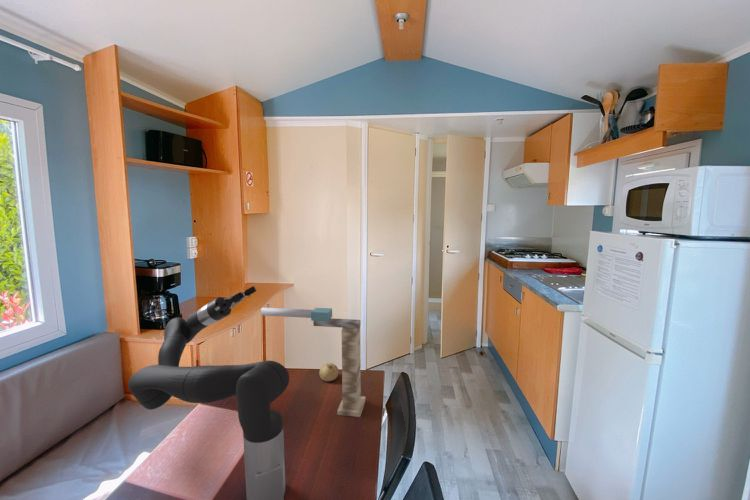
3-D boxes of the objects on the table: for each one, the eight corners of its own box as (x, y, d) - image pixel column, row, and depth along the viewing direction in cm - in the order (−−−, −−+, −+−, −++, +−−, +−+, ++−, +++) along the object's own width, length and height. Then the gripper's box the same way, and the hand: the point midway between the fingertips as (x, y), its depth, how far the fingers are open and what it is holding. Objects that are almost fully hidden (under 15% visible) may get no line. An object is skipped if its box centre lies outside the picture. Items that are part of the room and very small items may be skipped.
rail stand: (365, 400, 124) (365, 316, 120) (360, 417, 114) (359, 326, 110) (321, 396, 126) (319, 314, 122) (312, 412, 116) (309, 323, 112)
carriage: (332, 316, 119) (332, 308, 118) (328, 321, 114) (328, 312, 114) (266, 313, 123) (265, 305, 122) (259, 317, 118) (259, 309, 117)
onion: (315, 379, 139) (315, 363, 138) (329, 372, 145) (329, 356, 144) (328, 386, 134) (328, 369, 133) (342, 378, 140) (342, 362, 139)
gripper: (195, 308, 116) (232, 287, 113) (220, 297, 130) (253, 278, 127) (207, 327, 116) (243, 306, 113) (230, 314, 130) (263, 295, 127)
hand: (248, 291), depth 120 cm, fingers open, 8 cm apart
